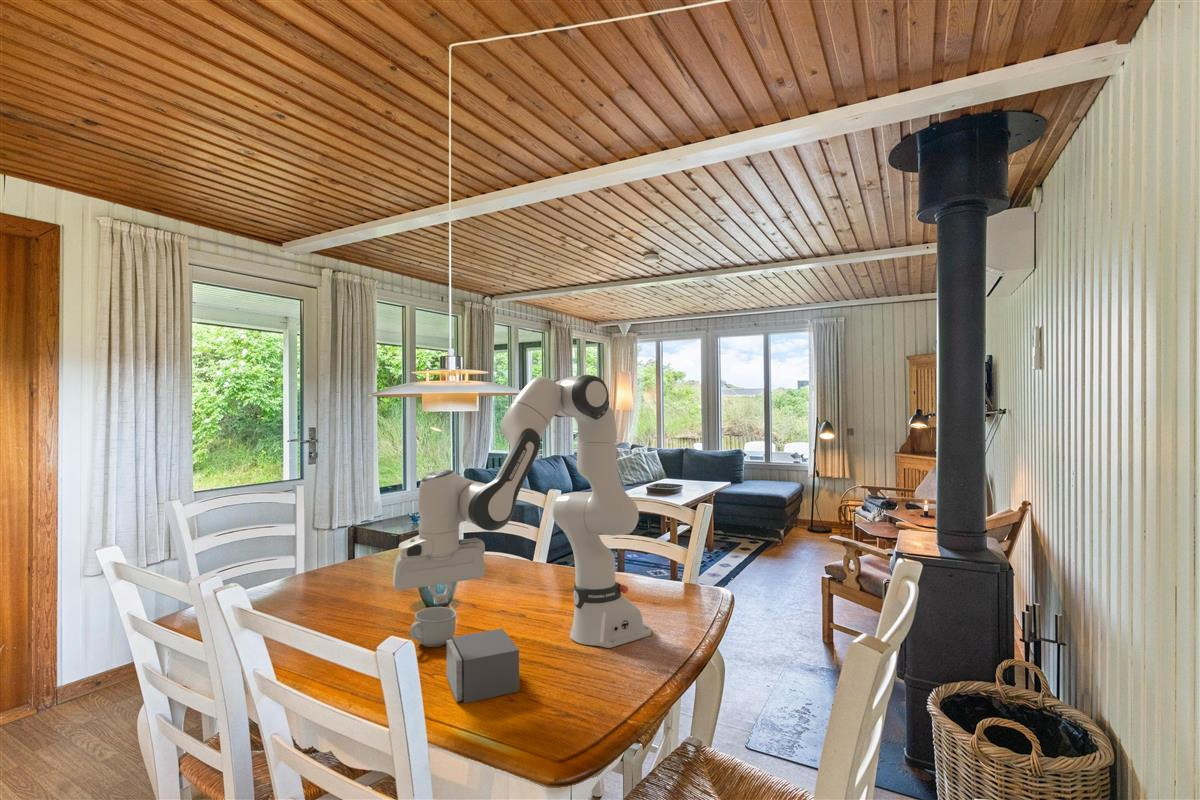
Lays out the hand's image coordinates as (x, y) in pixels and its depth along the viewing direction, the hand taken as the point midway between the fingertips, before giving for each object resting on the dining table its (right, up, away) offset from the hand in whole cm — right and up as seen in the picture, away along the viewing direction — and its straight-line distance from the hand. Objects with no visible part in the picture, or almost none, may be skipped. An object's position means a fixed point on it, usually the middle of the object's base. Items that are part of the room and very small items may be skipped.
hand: (440, 602), depth 129 cm
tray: (+9, -18, -1) cm, 20 cm away
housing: (+10, -18, -1) cm, 21 cm away
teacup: (-9, -19, +21) cm, 30 cm away
